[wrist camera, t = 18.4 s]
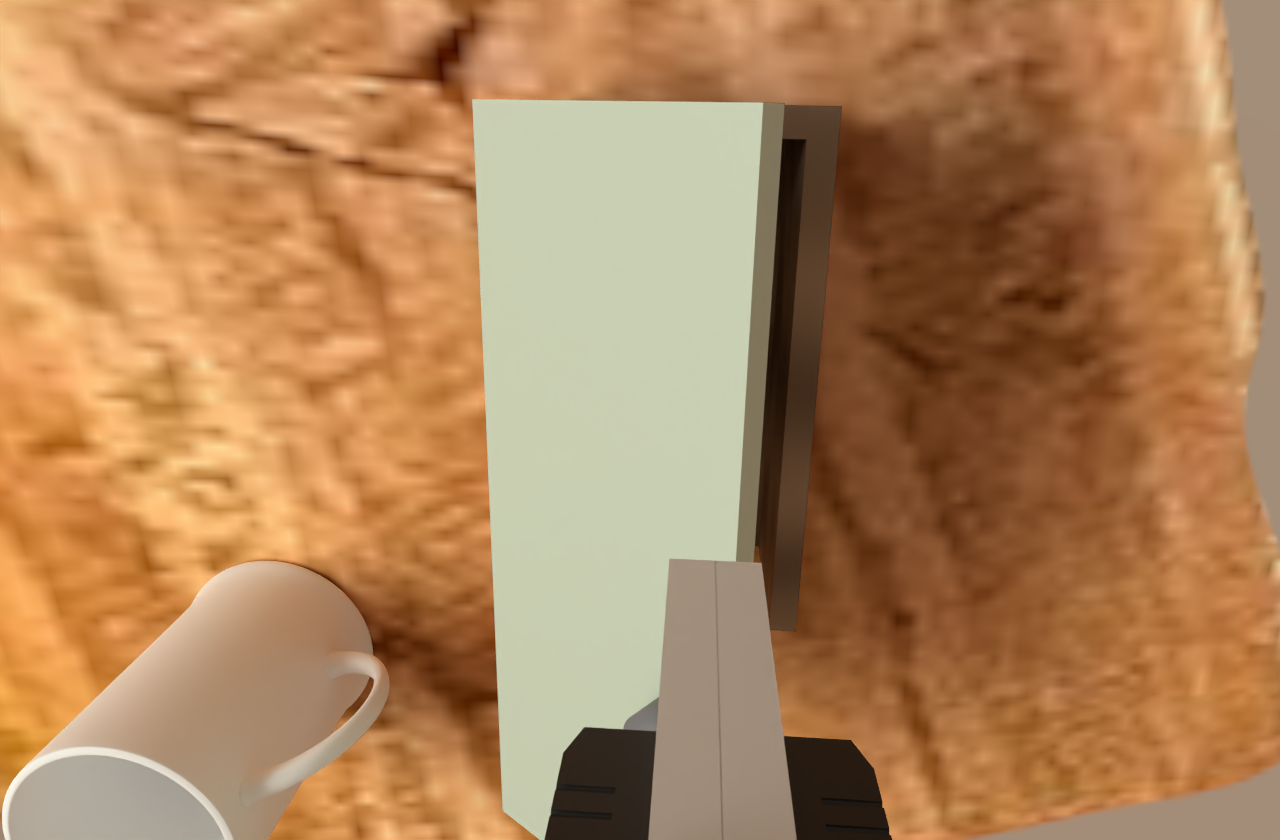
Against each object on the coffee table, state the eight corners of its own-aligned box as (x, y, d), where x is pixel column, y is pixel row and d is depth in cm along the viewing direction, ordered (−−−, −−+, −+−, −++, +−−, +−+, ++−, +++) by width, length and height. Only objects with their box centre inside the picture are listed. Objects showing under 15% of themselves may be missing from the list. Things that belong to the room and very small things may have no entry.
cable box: (560, 102, 32) (523, 100, 25) (812, 106, 31) (841, 106, 25) (565, 528, 38) (536, 617, 31) (779, 538, 37) (795, 631, 30)
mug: (411, 533, 38) (288, 712, 27) (464, 698, 41) (371, 923, 30) (163, 574, 40) (-52, 759, 28) (229, 730, 42) (57, 956, 31)
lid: (497, 99, 26) (424, 98, 24) (797, 103, 19) (728, 101, 17) (520, 785, 34) (467, 821, 32) (736, 946, 27) (685, 1002, 26)
